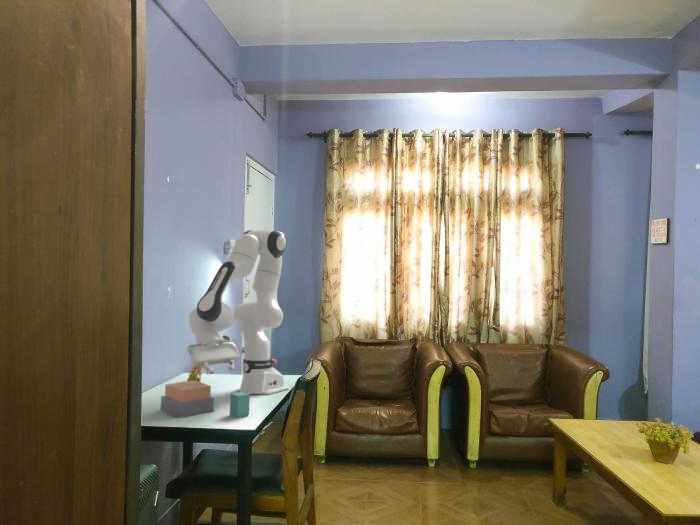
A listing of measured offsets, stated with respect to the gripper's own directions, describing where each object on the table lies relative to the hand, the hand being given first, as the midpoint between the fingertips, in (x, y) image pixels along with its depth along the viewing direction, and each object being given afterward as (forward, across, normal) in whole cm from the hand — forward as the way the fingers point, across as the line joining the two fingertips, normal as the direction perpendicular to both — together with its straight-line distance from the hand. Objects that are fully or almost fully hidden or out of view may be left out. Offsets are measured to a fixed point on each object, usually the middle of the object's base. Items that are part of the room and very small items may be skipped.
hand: (222, 371), depth 202 cm
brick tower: (+6, -11, +14) cm, 19 cm away
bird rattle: (-24, +16, +44) cm, 53 cm away
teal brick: (+19, 0, +2) cm, 19 cm away
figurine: (-12, +8, +32) cm, 35 cm away
